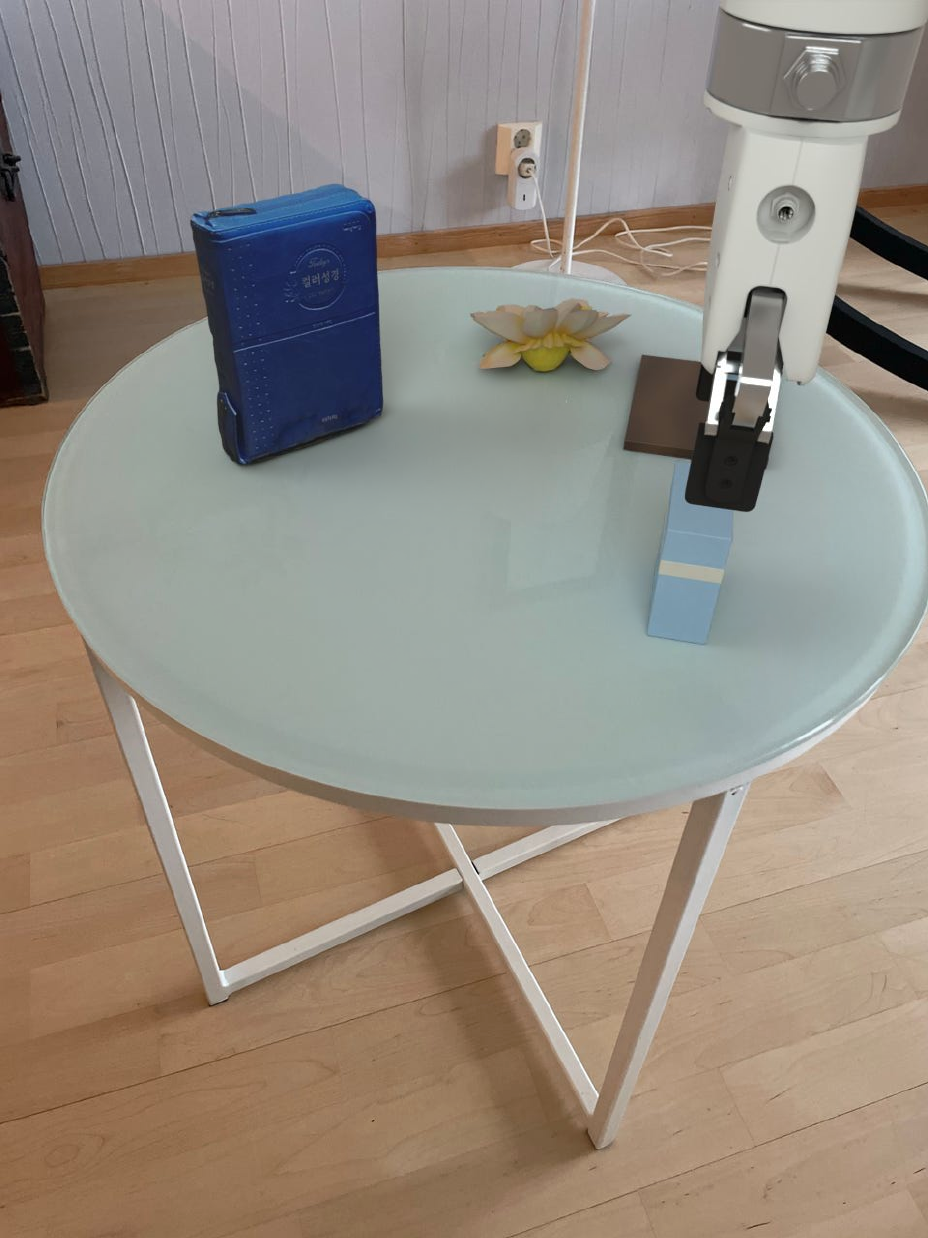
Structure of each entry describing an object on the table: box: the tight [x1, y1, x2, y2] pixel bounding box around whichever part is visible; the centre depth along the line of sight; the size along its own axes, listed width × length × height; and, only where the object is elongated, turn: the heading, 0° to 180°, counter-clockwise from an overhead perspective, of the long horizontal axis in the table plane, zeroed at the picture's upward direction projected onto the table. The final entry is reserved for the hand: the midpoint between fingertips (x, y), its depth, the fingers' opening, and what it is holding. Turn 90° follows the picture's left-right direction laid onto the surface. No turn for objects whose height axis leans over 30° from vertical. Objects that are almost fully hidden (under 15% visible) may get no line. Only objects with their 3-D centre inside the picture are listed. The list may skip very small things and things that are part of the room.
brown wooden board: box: [623, 354, 770, 470], centre depth 90 cm, size 12×16×1 cm
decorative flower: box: [469, 298, 632, 373], centre depth 94 cm, size 15×11×10 cm
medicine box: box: [646, 461, 735, 646], centre depth 68 cm, size 4×8×9 cm, turn 167°
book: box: [189, 183, 384, 466], centre depth 79 cm, size 14×5×20 cm, turn 126°
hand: (721, 449), depth 50 cm, fingers open, 9 cm apart
